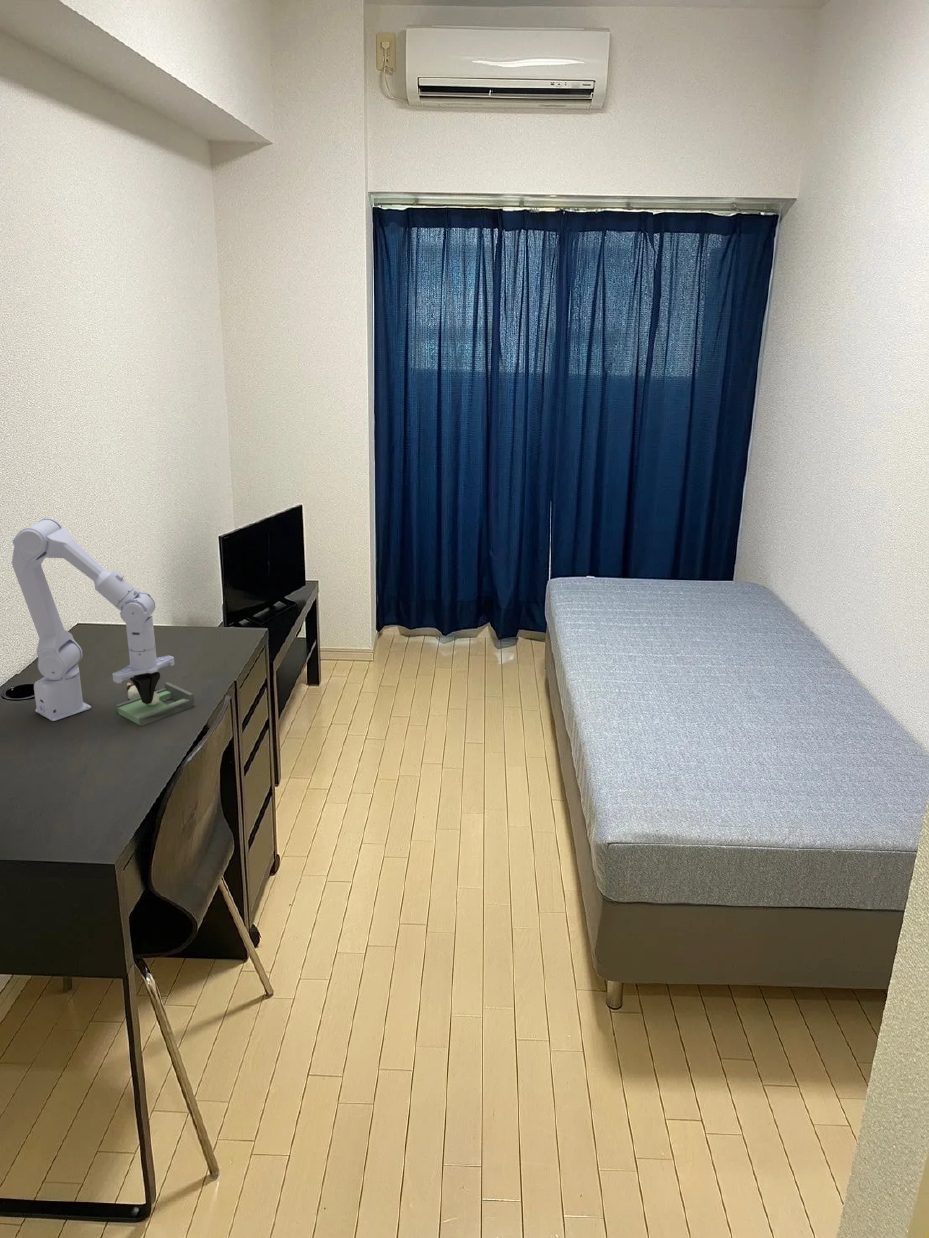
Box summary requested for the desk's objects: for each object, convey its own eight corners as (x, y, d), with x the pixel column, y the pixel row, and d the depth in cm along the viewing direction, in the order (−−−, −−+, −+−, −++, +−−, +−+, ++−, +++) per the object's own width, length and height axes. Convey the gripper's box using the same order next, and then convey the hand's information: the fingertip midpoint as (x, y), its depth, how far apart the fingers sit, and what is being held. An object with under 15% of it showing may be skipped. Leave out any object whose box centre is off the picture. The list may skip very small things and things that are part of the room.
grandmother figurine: (141, 685, 227) (123, 709, 215) (133, 672, 226) (114, 695, 214) (167, 673, 226) (151, 697, 214) (159, 661, 225) (142, 684, 213)
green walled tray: (141, 726, 203) (140, 713, 202) (116, 713, 209) (115, 700, 207) (194, 706, 213) (193, 693, 212) (169, 694, 219) (168, 682, 218)
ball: (149, 695, 207) (162, 693, 209) (142, 690, 209) (155, 688, 211) (148, 708, 207) (161, 706, 210) (141, 703, 209) (154, 701, 212)
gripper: (122, 660, 196) (129, 717, 201) (180, 642, 207) (185, 697, 211) (104, 652, 200) (111, 708, 205) (162, 635, 211) (167, 688, 215)
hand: (147, 702), depth 208 cm, fingers closed, pressing on ball
